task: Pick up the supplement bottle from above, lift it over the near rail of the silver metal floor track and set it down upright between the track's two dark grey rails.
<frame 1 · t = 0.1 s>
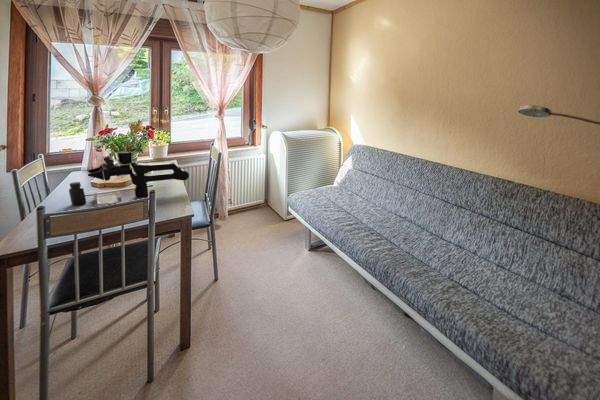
hand: (88, 173, 185), 17 cm above the table, tool horizontal, fingers open, 9 cm apart
track: (108, 201, 192), on the table
supplement bottle: (79, 204, 186), on the table
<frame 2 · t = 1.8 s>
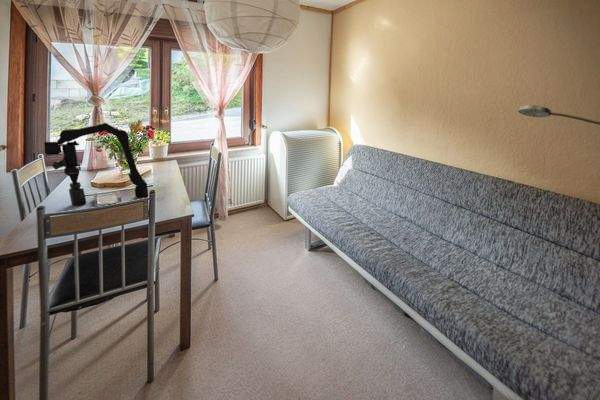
hand: (75, 182, 182), 12 cm above the table, tool pointing down, fingers open, 9 cm apart
nothing on the table moved.
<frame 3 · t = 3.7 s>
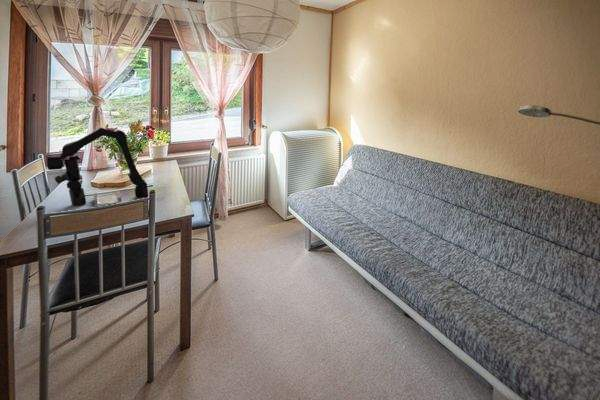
hand: (77, 196, 185), 5 cm above the table, tool pointing down, fingers closed on supplement bottle, 7 cm apart
supplement bottle: (79, 204, 186), on the table, touching gripper
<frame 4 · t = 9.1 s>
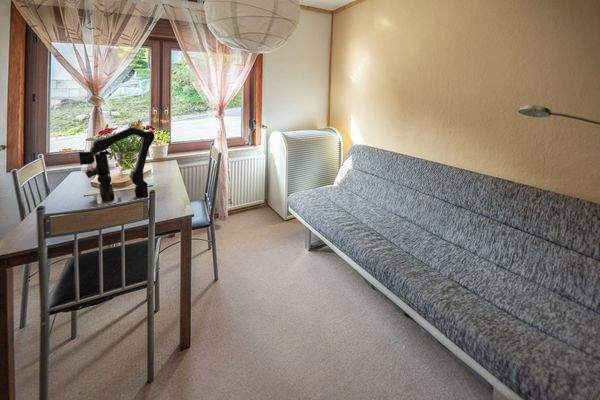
hand: (106, 190, 190), 6 cm above the table, tool pointing down, fingers closed on supplement bottle, 7 cm apart
supplement bottle: (108, 199, 192), point 1 cm above the table, touching gripper, track
when the fingers open (6 cm above the table, at t = 9.2 s): supplement bottle stays where it is, resting on track.
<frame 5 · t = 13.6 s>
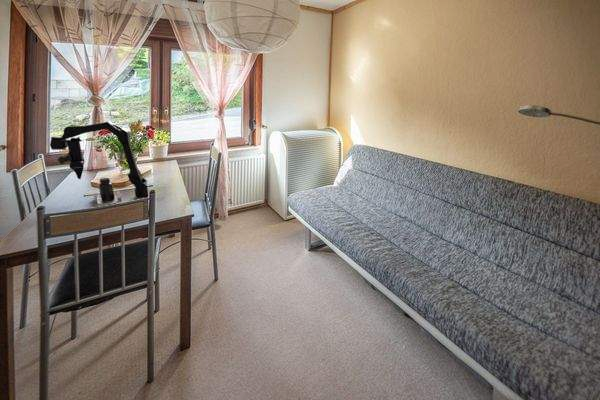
hand: (79, 177, 190), 13 cm above the table, tool pointing down, fingers open, 9 cm apart
supplement bottle: (108, 199, 192), point 1 cm above the table, touching track
at the end: supplement bottle inside the target area on the track (0.3 cm from its centre), point 0.8 cm above the track's base; supplement bottle tilted 0°; the gripper is holding nothing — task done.
